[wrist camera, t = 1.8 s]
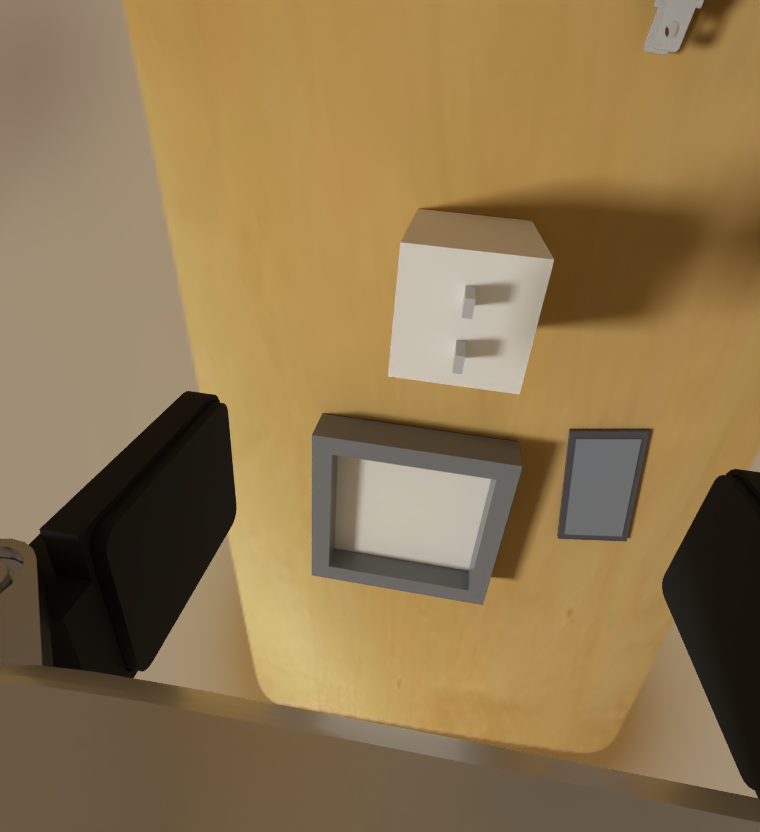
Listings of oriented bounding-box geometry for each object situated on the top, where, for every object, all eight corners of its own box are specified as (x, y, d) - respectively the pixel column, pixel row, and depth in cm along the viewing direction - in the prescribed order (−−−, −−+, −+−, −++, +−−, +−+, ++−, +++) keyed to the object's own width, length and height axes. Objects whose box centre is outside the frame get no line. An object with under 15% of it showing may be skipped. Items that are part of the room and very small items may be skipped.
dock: (322, 413, 26) (312, 435, 24) (518, 441, 25) (522, 466, 23) (320, 549, 31) (311, 575, 29) (482, 577, 30) (482, 605, 28)
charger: (417, 208, 20) (395, 252, 14) (532, 220, 19) (560, 270, 13) (406, 317, 22) (382, 395, 16) (507, 330, 22) (522, 414, 16)
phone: (567, 422, 24) (570, 431, 24) (644, 422, 24) (650, 432, 23) (556, 528, 28) (558, 539, 27) (622, 530, 27) (626, 542, 27)
